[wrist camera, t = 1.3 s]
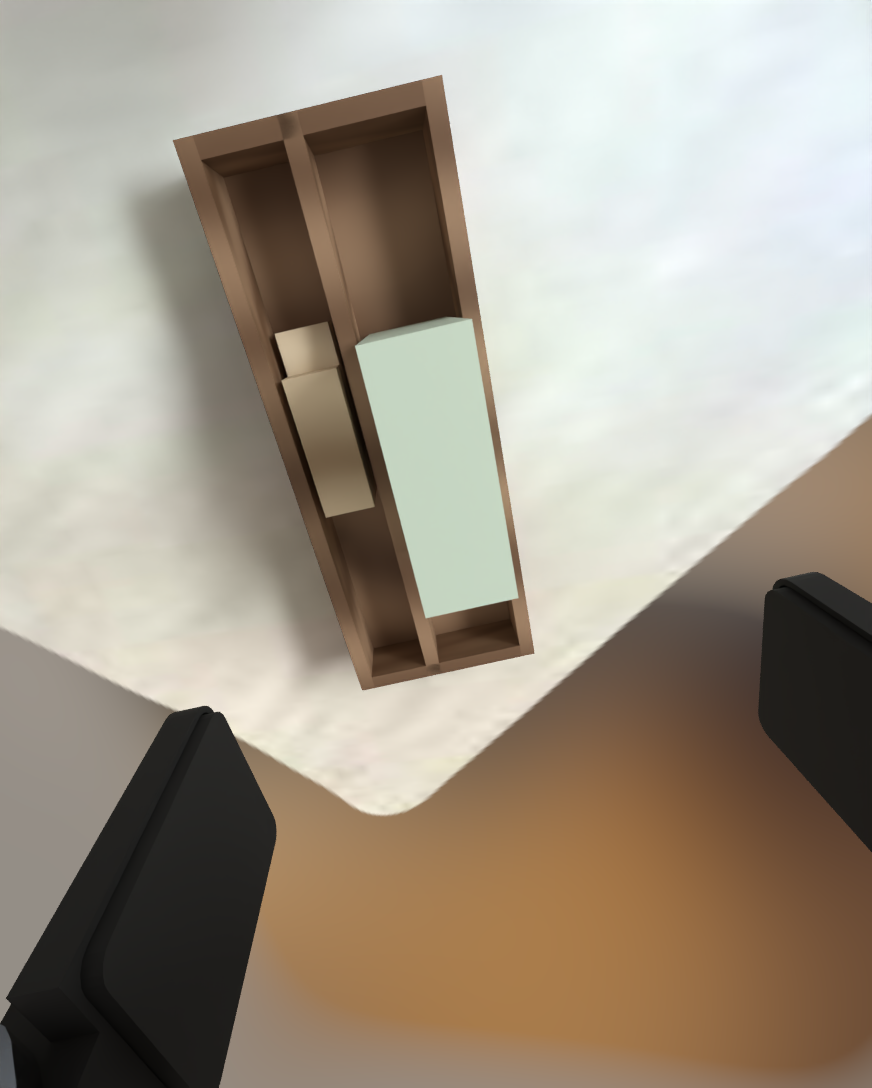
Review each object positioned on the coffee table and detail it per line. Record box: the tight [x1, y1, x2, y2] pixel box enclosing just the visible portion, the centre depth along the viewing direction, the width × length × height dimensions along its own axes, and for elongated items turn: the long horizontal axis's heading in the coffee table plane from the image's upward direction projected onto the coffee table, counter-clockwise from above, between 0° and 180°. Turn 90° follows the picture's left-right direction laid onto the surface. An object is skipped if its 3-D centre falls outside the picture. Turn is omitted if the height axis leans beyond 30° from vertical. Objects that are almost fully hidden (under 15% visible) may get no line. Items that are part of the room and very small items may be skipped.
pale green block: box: [355, 317, 518, 618], centre depth 24 cm, size 11×4×10 cm, turn 12°
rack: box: [173, 75, 534, 690], centre depth 28 cm, size 28×11×4 cm, turn 12°
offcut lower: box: [275, 321, 377, 496], centre depth 27 cm, size 9×3×2 cm, turn 12°
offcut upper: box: [282, 365, 376, 518], centre depth 26 cm, size 7×3×2 cm, turn 12°
